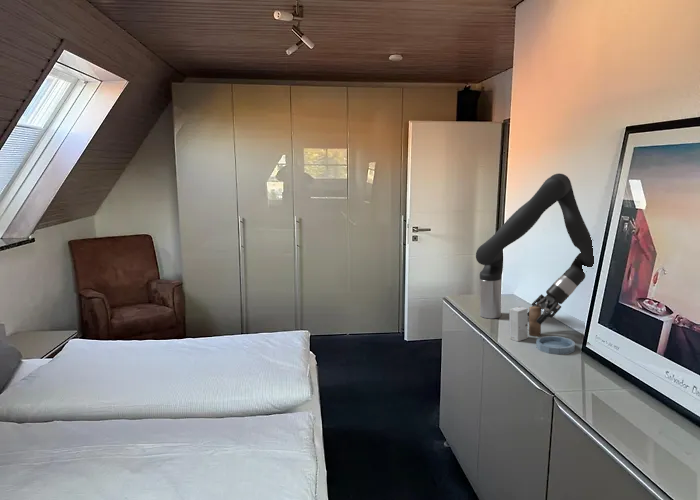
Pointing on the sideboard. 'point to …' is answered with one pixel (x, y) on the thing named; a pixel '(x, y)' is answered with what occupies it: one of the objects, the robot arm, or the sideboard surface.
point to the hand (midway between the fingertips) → (533, 319)
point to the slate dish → (555, 345)
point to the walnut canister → (534, 321)
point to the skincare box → (518, 323)
